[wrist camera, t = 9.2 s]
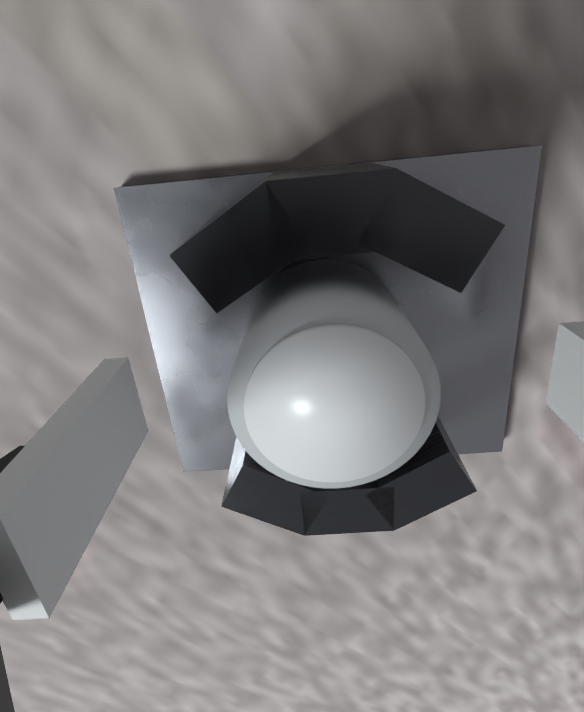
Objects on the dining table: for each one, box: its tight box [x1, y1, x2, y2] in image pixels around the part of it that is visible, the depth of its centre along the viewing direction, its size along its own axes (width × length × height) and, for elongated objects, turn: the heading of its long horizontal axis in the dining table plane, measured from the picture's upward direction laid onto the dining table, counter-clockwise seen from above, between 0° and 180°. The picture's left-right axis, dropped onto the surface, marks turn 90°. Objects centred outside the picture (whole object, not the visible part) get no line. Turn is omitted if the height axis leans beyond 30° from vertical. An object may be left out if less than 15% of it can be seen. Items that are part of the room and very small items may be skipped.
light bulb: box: [227, 260, 441, 488], centre depth 15 cm, size 6×6×5 cm
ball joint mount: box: [114, 146, 542, 536], centre depth 16 cm, size 14×12×5 cm
